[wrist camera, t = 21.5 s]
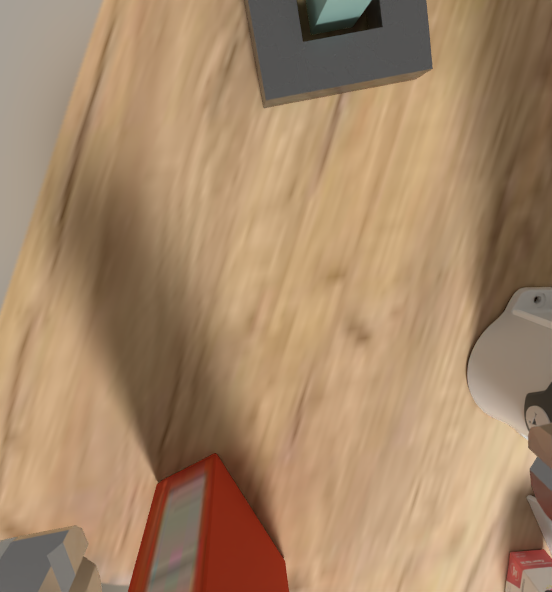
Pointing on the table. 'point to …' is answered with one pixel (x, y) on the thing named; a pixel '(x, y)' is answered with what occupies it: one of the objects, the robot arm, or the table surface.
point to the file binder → (205, 538)
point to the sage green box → (334, 14)
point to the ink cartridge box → (529, 572)
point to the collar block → (336, 51)
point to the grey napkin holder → (542, 521)
